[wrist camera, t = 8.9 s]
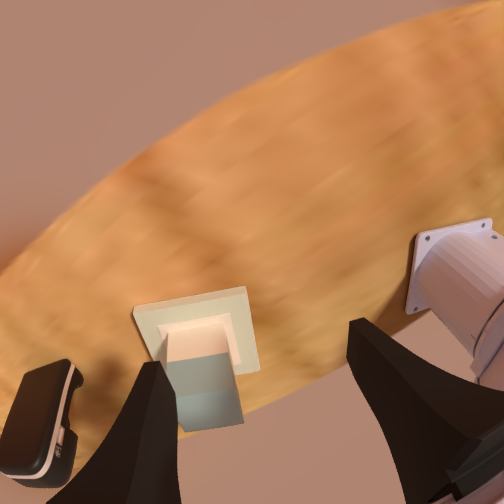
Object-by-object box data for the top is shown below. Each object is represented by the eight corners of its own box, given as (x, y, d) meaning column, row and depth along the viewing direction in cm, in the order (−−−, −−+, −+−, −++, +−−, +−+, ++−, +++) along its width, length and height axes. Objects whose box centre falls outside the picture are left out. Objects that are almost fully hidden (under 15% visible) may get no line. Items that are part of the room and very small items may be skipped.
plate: (245, 285, 22) (247, 293, 21) (258, 362, 26) (260, 371, 25) (134, 305, 22) (132, 314, 21) (166, 378, 25) (166, 387, 25)
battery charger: (48, 396, 25) (24, 492, 15) (22, 371, 23) (-11, 470, 13) (96, 382, 25) (77, 495, 15) (69, 354, 23) (37, 471, 13)
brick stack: (223, 322, 22) (233, 388, 17) (232, 360, 24) (244, 423, 19) (168, 332, 22) (165, 398, 17) (183, 369, 24) (184, 432, 19)
